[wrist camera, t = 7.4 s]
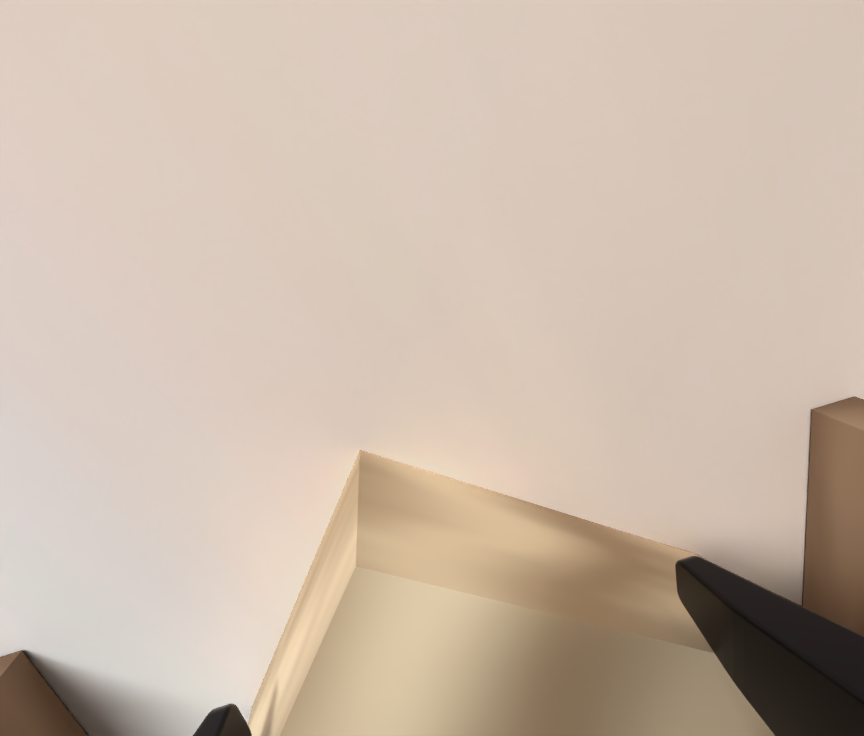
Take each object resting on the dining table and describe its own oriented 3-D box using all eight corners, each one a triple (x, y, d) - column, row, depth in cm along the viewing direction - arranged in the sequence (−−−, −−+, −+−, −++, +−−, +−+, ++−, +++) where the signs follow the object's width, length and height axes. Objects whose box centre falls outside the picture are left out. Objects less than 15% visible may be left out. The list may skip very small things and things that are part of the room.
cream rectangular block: (689, 545, 13) (824, 679, 9) (561, 739, 15) (628, 918, 11) (360, 441, 10) (356, 566, 7) (256, 689, 12) (205, 899, 8)
